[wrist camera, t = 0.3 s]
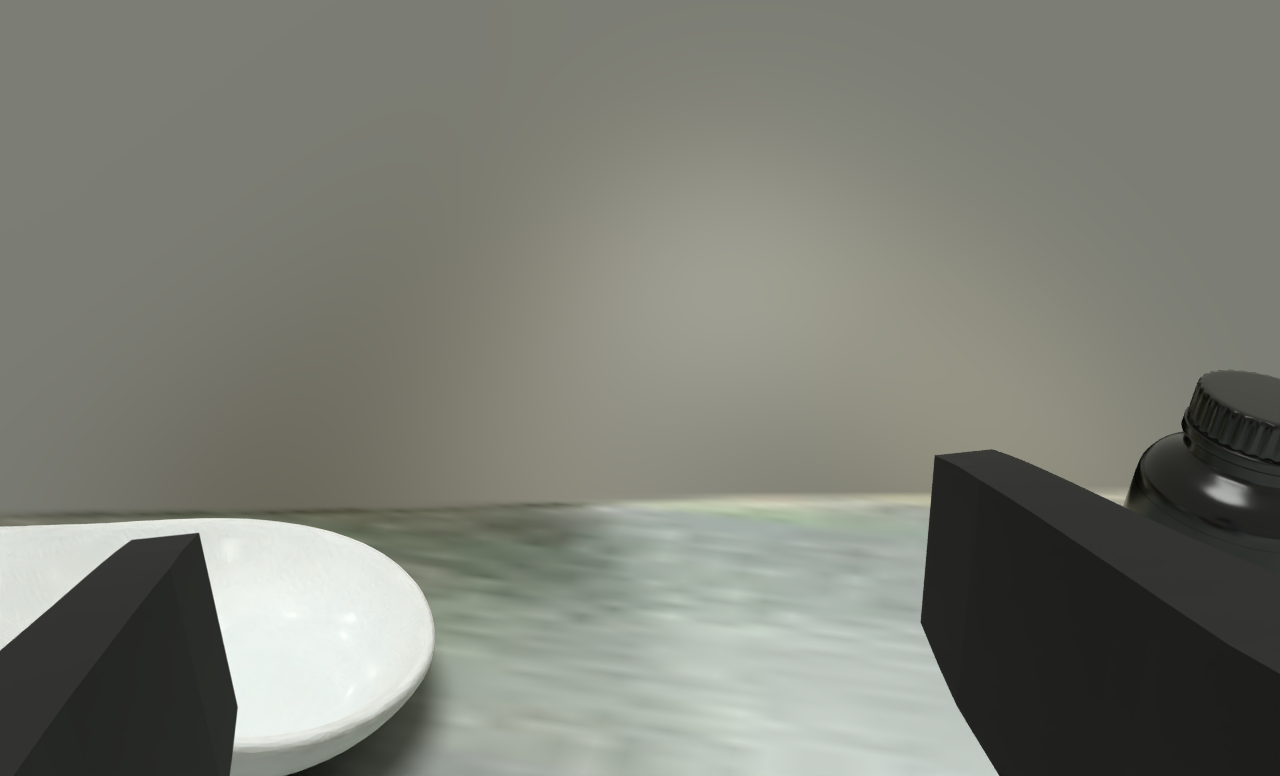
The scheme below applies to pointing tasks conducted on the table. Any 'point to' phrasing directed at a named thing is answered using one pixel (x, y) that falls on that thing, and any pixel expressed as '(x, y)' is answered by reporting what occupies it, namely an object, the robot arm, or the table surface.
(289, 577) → the spoon rest
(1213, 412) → the supplement bottle
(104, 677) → the robot arm
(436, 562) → the table surface
